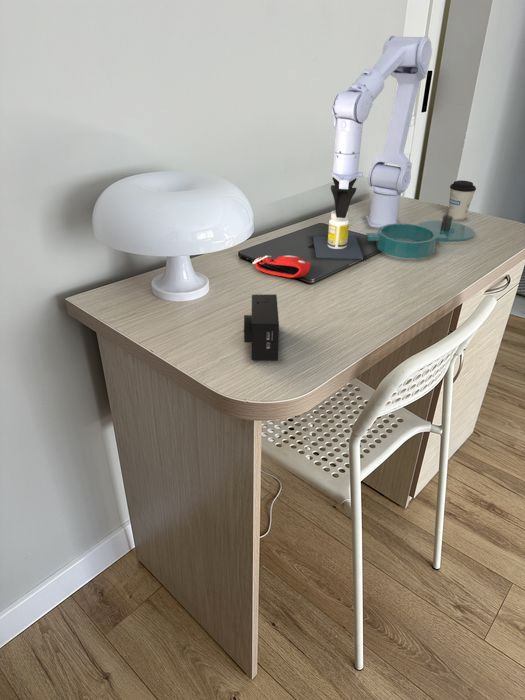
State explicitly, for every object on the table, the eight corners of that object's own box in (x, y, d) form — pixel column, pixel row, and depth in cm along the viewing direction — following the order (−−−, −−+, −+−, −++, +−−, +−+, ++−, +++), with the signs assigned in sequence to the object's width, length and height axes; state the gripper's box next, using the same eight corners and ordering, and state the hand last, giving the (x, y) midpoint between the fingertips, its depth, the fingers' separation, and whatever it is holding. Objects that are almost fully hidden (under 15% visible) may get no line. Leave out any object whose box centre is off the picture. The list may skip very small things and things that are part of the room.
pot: (361, 239, 130) (363, 222, 128) (436, 240, 130) (439, 224, 127) (370, 259, 118) (372, 242, 116) (451, 261, 118) (455, 243, 116)
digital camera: (245, 328, 91) (244, 293, 87) (275, 328, 91) (276, 293, 87) (244, 361, 82) (243, 323, 78) (277, 360, 82) (279, 323, 78)
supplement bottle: (347, 243, 126) (351, 210, 121) (345, 250, 122) (349, 216, 118) (328, 241, 127) (331, 208, 122) (325, 248, 123) (328, 214, 119)
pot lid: (410, 224, 140) (413, 207, 138) (463, 225, 140) (467, 208, 138) (423, 243, 128) (426, 225, 125) (481, 244, 128) (486, 226, 125)
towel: (312, 237, 131) (312, 235, 130) (355, 238, 130) (355, 236, 130) (316, 258, 119) (316, 256, 119) (363, 259, 119) (363, 257, 118)
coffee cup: (462, 214, 148) (470, 179, 143) (473, 221, 142) (482, 185, 137) (439, 215, 147) (446, 179, 142) (450, 222, 141) (457, 186, 136)
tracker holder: (293, 254, 118) (321, 258, 110) (291, 273, 119) (319, 278, 111) (249, 252, 111) (276, 256, 103) (248, 273, 112) (274, 278, 104)
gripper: (365, 159, 106) (358, 223, 114) (364, 146, 118) (358, 204, 126) (331, 158, 107) (326, 221, 114) (334, 144, 119) (329, 202, 126)
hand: (341, 212), depth 120 cm, fingers open, 7 cm apart
